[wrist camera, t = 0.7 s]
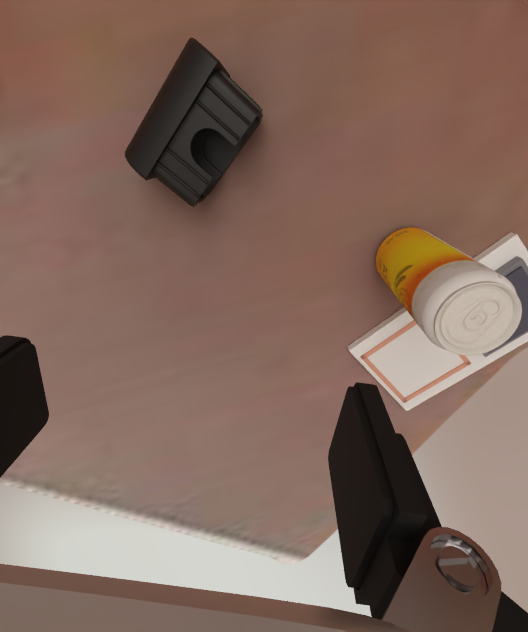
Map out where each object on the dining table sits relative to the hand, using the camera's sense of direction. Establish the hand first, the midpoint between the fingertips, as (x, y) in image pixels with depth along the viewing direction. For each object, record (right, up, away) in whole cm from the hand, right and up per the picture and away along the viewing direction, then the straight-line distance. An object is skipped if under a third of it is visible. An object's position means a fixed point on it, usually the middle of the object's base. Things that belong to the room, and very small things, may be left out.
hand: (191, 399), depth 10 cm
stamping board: (+24, +1, +29) cm, 37 cm away
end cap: (-3, +19, +21) cm, 29 cm away
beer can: (+17, +9, +25) cm, 32 cm away
